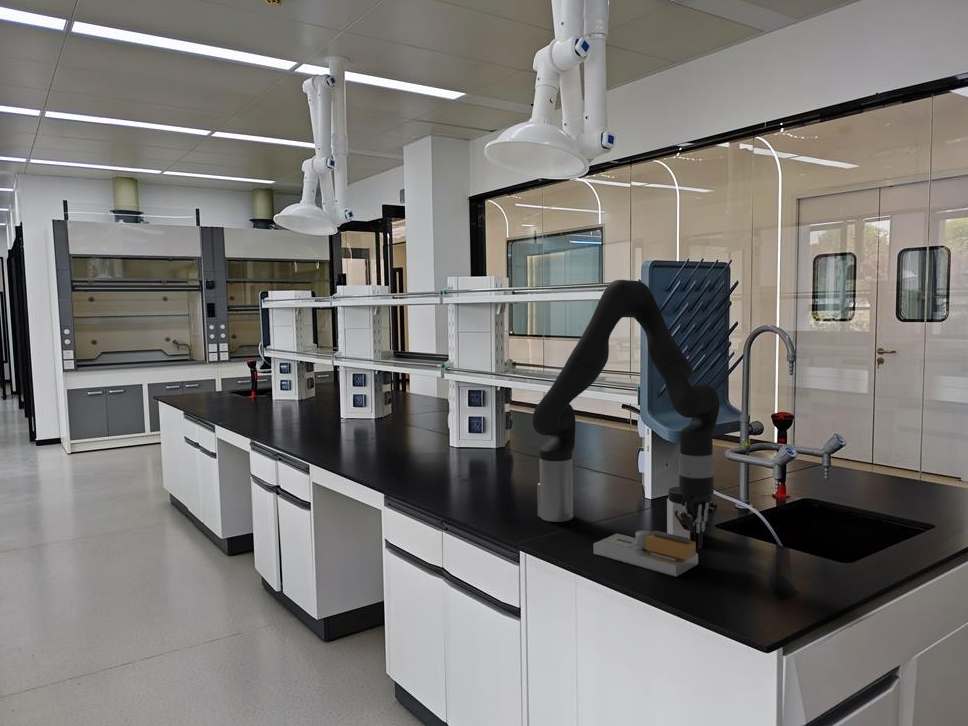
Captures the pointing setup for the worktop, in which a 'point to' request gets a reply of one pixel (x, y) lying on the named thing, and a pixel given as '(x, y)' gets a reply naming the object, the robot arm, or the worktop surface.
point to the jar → (672, 505)
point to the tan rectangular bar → (666, 544)
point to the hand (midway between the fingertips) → (696, 547)
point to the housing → (642, 555)
